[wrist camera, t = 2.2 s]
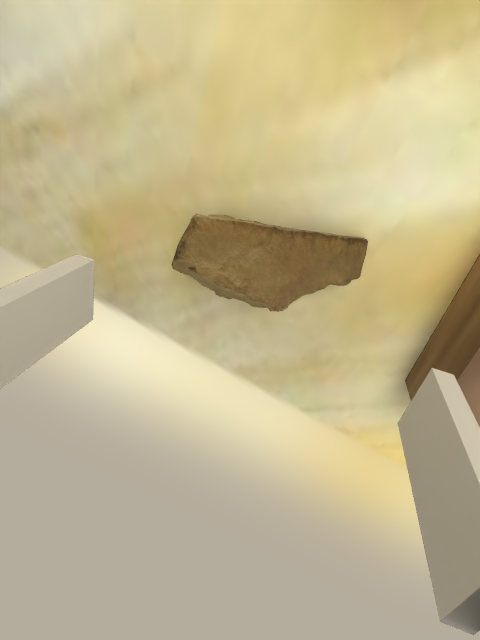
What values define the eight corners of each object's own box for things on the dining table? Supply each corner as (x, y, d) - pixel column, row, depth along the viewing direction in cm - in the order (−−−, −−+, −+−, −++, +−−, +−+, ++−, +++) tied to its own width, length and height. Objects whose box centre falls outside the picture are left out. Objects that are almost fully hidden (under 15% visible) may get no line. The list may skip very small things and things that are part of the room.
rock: (429, 216, 18) (257, 99, 16) (391, 372, 15) (170, 247, 13) (315, 289, 28) (201, 221, 26) (277, 391, 24) (143, 323, 23)
